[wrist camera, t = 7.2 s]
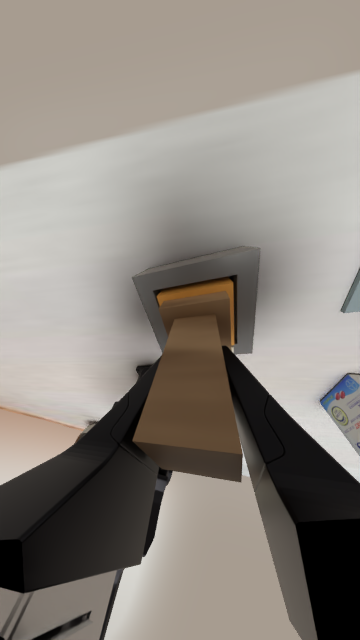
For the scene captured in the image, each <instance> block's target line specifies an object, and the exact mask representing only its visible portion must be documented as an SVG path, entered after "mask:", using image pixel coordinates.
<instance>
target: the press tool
mask: <svg viewBox="0 0 360 640" xmlns="http://www.w3.org/2000/svg"><path fill="white" fill-rule="evenodd" d="M159 312H160V315H161V318H162V321H163V324H164V327H165V329H166V332H167V335H168V339H167V342H166V345H165V348H164V351H163V354H162V357H161V360H160V362H159V365H158V368H157V371H156V374H155V377H154V380H153V383H152V386H151V388H150V391H149V394H148V397H147V400H146V403H145V406H144V409H143V411H142V414H141V417H140V420H139V423H138V426H137V429H136V432H135V434H134V437H133V440H132V441H133V442H134V443H135V444H136V445H137V446H138V447H139V448H140V449H141V450H142V451H144V452H145V453H146V454H147V455H148V456H149V457H150V458H151V459H152V460H153V461H154V462H155V463H156V464H157V465H158V466H160V467H161V468H162V469H166V470H171V471H178V472H183V473H190V474H195V475H201V476H206V477H212V478H218V479H224V480H230V481H236V482H241V476H242V457H243V454H242V449H241V443H240V438H239V433H238V428H237V423H236V418H235V413H234V408H233V402H232V397H231V392H230V387H229V382H228V377H227V372H226V367H225V361H224V356H223V351H222V346H224V345H226V346H227V347H228V348H229V349H230V350H231V351H232V349H231V321H230V298H229V296H228V294H227V292H226V291H222V292H216V293H210V294H204V295H198V296H192V297H185V298H179V299H173V300H167V301H163V303H162V304H161V306H160V307H159Z"/></svg>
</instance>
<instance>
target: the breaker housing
mask: <svg viewBox="0 0 360 640" xmlns="http://www.w3.org/2000/svg"><path fill="white" fill-rule="evenodd" d="M259 259H260V248H255V247H245V246H242V247H238V248H234V249H230V250H225V251H221V252H217V253H213V254H209V255H204V256H200V257H196V258H192V259H187V260H183V261H179V262H175V263H171V264H166V265H162V266H158V267H154V268H149V269H147V270H145V271H143V272H141V273H139V274H137V275H135V276H133V277H132V279H133V281H134V284H135V286H136V289H137V291H138V294H139V296H140V299H141V301H142V304H143V306H144V308H145V311H146V313H147V316H148V318H149V321H150V323H151V326H152V328H153V331H154V333H155V336H156V338H157V341H158V343H159V345H160V348H161V350H162V353H163V351H164V348H165V345H166V342H167V339H168V335H167V332H166V329H165V327H164V324H163V321H162V318H161V315H160V312H159V307H160V305H159V302H158V299H157V295H158V294H159V293H160V292H161V290H162V289H163V288H168V287H174V286H179V285H184V284H189V283H195V282H200V281H205V280H210V279H216V278H221V277H226V276H228V277H229V278H230V279H231V281H232V282H233V295H234V345H231V349H232V352H233V353H234V354H249V353H252V349H253V336H254V323H255V310H256V297H257V284H258V272H259Z"/></svg>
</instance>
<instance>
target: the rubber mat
mask: <svg viewBox="0 0 360 640" xmlns="http://www.w3.org/2000/svg"><path fill="white" fill-rule="evenodd" d="M341 312H343V313H350V312H360V270H359V272H358V274H357V277H356V279H355V281H354V283H353V285H352V288H351V290H350V292H349V294H348V297H347V299H346V301H345V303H344V305H343V308H342V310H341Z"/></svg>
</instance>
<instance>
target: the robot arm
mask: <svg viewBox="0 0 360 640" xmlns="http://www.w3.org/2000/svg"><path fill="white" fill-rule="evenodd" d="M222 351H223V356H224V361H225V367H226V372H227V377H228V382H229V387H230V392H231V397H232V402H233V408H234V413H235V418H236V423H237V428H238V433H239V437H240V441H241V445H242V448H243V452H244V456H245V459H246V463H247V467H248V470H249V474H250V478H251V481H252V484H253V488H254V492H255V496H256V499H257V503H258V507H259V510H260V514H261V517H262V521H263V525H264V528H265V532H266V535H267V540H268V543H269V547H270V551H271V554H272V558H273V561H274V565H275V569H276V572H277V576H278V579H279V583H280V587H281V591H282V594H283V598H284V602H285V605H286V609H287V613H288V616H289V620H290V622H291V623H292V625H293V626H294V628H295V630H296V631H297V633H298V634H299V636H300V637H301V639H302V640H360V483H359V482H358V481H357V480H356V479H355V478H354V477H353V476H352V475H351V474H350V473H349V472H348V471H346V470H345V469H344V468H343V467H342V466H341V465H340V464H339V463H338V462H337V461H336V460H335V459H334V458H333V457H332V456H331V455H330V454H329V453H328V452H327V451H326V450H325V449H324V448H322V447H321V446H320V445H319V444H318V443H317V442H316V441H315V440H314V439H313V438H312V437H311V436H310V435H309V434H308V433H307V432H306V431H305V430H304V429H303V428H302V427H301V426H300V425H299V424H298V423H297V422H296V421H295V420H294V419H293V418H292V417H291V416H290V415H289V414H288V413H287V412H286V411H285V410H284V409H283V408H282V407H281V406H280V405H279V404H278V403H277V401H276V400H275V399H274V398H273V397H272V396H271V395H270V394H269V393H268V391H267V390H266V389H265V388H264V387H263V386H262V385H261V384H260V382H259V381H258V380H257V379H256V378H255V377H254V376H253V375H252V373H251V372H250V371H249V370H248V369H247V368H246V367H245V366H244V364H243V363H242V362H241V361H240V360H239V359H238V358H237V357H236V355H235V354H234V353H233V352H232V351H231V350H230V349H229V348H228V347H227V346H226V345H224V346H222ZM161 357H162V356H161ZM161 357H160V358H159V359H158V360H157V361H156V362H155V363H154V364H153V365H152V366H138V367H137V368H136V371H137V373H138V374H139V378H138V380H137V382H136V384H135V385H134V386H133V387H132V388H131V389H130V390H129V392H127V393H126V394H125V396H124V397H123V398H121V400H120V401H119V402H115V403H114V405H113V407H112V409H111V410H110V411H109V412H108V413H107V414H106V415H105V416H104V417H103V418H102V419H101V420H100V421H98V422H97V423H96V424H95V425H94V426H93V427H92V428H91V429H90V430H89V431H88V432H87V433H86V434H85V435H84V436H83V437H82V438H80V439H79V440H78V441H77V442H76V443H75V444H74V445H72V446H71V447H70V448H68V449H67V450H66V451H64V452H62V453H61V454H59V455H57V456H56V457H54V458H52V459H50V460H48V461H46V462H44V463H42V464H40V465H39V466H37V467H35V468H33V469H31V470H29V471H27V472H25V473H23V474H21V475H20V476H18V477H16V478H14V479H12V480H10V481H8V482H6V483H4V484H3V485H0V640H104V637H105V633H106V630H107V626H108V622H109V619H110V615H111V612H112V608H113V604H114V601H115V597H116V594H117V590H118V587H119V583H120V580H121V577H122V573H123V570H124V569H125V568H128V567H131V566H136V565H139V564H141V560H142V557H145V555H146V554H147V551H148V549H149V547H150V545H151V543H152V541H153V539H154V536H155V530H156V526H157V520H158V515H159V510H160V506H161V501H162V497H163V494H164V490H165V487H166V486H167V485H168V483H169V481H170V478H171V475H172V471H171V470H166V469H162V468H161V467H160V466H158V465H157V464H156V463H155V462H154V461H153V460H152V459H151V458H150V457H149V456H148V455H147V454H146V453H145V452H144V451H142V450H141V449H140V448H139V447H138V446H137V445H136V444H135V443H134V442H133V441H132V440H133V437H134V434H135V432H136V429H137V426H138V423H139V420H140V417H141V414H142V411H143V409H144V406H145V403H146V400H147V397H148V394H149V391H150V388H151V386H152V383H153V380H154V377H155V374H156V371H157V368H158V365H159V362H160V360H161Z"/></svg>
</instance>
